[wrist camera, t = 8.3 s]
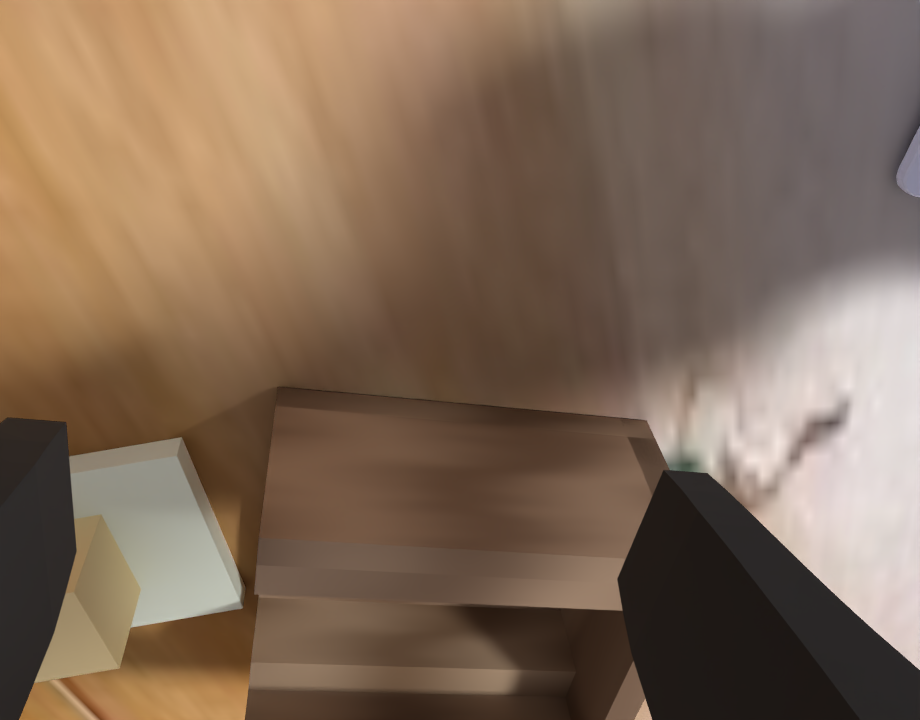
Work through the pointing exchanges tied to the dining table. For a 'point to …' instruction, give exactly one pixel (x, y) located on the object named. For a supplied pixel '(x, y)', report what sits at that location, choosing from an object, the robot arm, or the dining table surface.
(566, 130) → the dining table surface
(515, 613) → the walnut box
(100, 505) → the cover plate
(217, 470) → the dining table surface
